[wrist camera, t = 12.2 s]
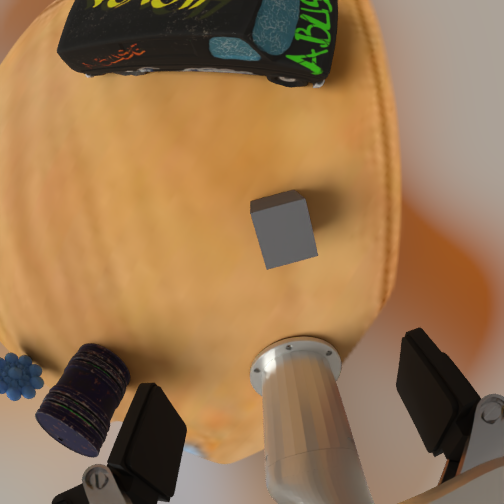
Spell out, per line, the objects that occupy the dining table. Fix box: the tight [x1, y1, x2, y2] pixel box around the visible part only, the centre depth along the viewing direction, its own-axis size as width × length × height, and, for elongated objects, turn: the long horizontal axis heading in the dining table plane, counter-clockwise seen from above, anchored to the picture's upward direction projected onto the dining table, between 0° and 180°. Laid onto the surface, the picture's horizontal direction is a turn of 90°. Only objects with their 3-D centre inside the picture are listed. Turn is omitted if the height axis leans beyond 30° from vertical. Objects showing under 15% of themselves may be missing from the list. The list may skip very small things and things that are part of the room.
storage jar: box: [35, 344, 130, 457], centre depth 28 cm, size 10×10×15 cm
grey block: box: [250, 190, 318, 269], centre depth 25 cm, size 5×4×6 cm
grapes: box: [0, 353, 44, 401], centre depth 31 cm, size 12×7×12 cm, turn 62°
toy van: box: [57, 0, 338, 88], centre depth 16 cm, size 11×25×10 cm, turn 82°
